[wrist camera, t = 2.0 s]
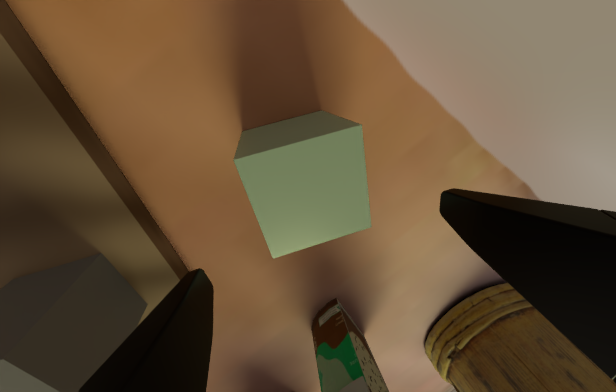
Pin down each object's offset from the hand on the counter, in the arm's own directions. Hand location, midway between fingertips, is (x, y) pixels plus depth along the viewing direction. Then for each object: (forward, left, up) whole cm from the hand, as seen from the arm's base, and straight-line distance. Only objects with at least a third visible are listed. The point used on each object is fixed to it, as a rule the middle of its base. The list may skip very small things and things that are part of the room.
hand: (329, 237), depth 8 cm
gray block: (-5, +17, -8) cm, 19 cm away
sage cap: (0, 0, -10) cm, 10 cm away
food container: (-22, +1, -10) cm, 24 cm away
